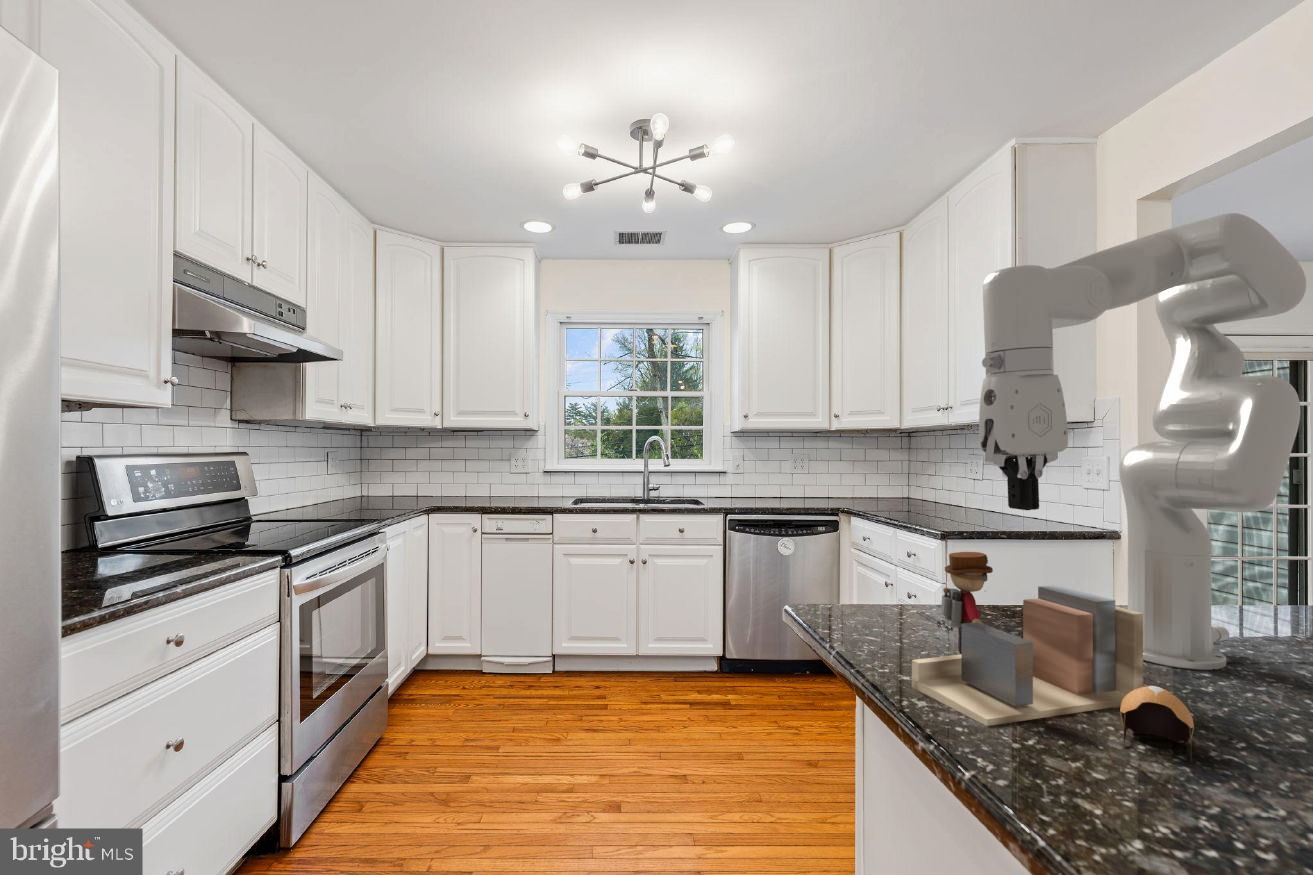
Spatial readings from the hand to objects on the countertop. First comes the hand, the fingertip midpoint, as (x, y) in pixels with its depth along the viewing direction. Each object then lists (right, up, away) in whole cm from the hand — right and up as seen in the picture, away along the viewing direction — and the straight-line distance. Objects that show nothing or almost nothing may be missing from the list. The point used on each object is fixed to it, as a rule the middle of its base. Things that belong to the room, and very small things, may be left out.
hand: (1023, 508), depth 78 cm
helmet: (+1, -23, -19) cm, 30 cm away
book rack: (-2, -23, -3) cm, 23 cm away
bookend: (-7, -21, -6) cm, 23 cm away
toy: (-2, -23, +12) cm, 26 cm away
